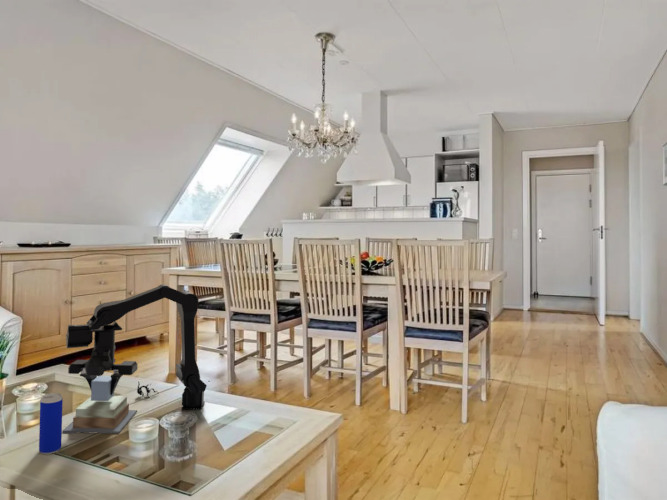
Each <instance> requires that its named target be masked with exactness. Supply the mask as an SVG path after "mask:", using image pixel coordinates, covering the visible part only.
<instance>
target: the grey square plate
mask: <svg viewBox="0 0 667 500" xmlns="http://www.w3.org/2000/svg"><path fill="white" fill-rule="evenodd" d="M136 412H137V413H138V410H137V409H129V413H128V414H127V415H126V416H125V417H124V418H123V420H122V421H121V422H120V423H119V424H118V425H117V426H116V427H115V428H73V421H71V423H69V424H68V425H67V426H66V427H64V428H63V429H62V434H63V433H65V434H66V433H69V434H71V433H72V434H73V433H76V432H97V433H96V434H120V433H121V432H122V430H124V428H125V427H126V425H128V423H130V421H131V419H132V418H133V417H134V416H135V415H136V414H137V413H136ZM135 413H136V414H135ZM76 434H77V433H76Z"/></svg>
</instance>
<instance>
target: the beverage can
mask: <svg viewBox="0 0 667 500" xmlns="http://www.w3.org/2000/svg"><path fill="white" fill-rule="evenodd" d="M63 399H64V398H63V395H62V394H61V393H58V392H51V393H45V394H44V395H41V399H40V401H39V402H40V403H39V429H38V431H39V437H38V439H39V440H38V451H39V452H40V453H41V454H42V455H52V453H53V454H55V452H56V453H57V452H60V450H61V448H62V439H63V438H62V436H63V435H62V434H63V433H62V432H63V428H62V427H63V401H64V400H63Z"/></svg>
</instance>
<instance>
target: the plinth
mask: <svg viewBox="0 0 667 500" xmlns="http://www.w3.org/2000/svg"><path fill="white" fill-rule="evenodd" d="M129 410H130V403H128V396H127V395H126V396H123V395H120V396H119V395H114V396H113V397H112V398H111V399H110V400H109V401H91V396H90V397H88V398H87V399H86V400H85V401H84V402H82V403H81V404H80V405H78V407H76V408H75V416H73V417H72V422H73V428H115V427H116V426H117V425H118V424H119V423H120V422H121V421H122V420H123V418H124V417H125V416H126V415H127V414H128V413H129Z"/></svg>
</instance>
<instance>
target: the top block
mask: <svg viewBox="0 0 667 500" xmlns="http://www.w3.org/2000/svg"><path fill="white" fill-rule="evenodd" d="M111 380H112V379H111V375H109V376H107V375H105V376H104V375H101V376H97V377H96V378H95V379H94V380H93V381H92V382H91V389H90V393H91V394H90V397H91V401H109V400H110V399H111V398H112V397H113V396H115V392H114V393H113V395H111V392H110V389H111Z"/></svg>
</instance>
